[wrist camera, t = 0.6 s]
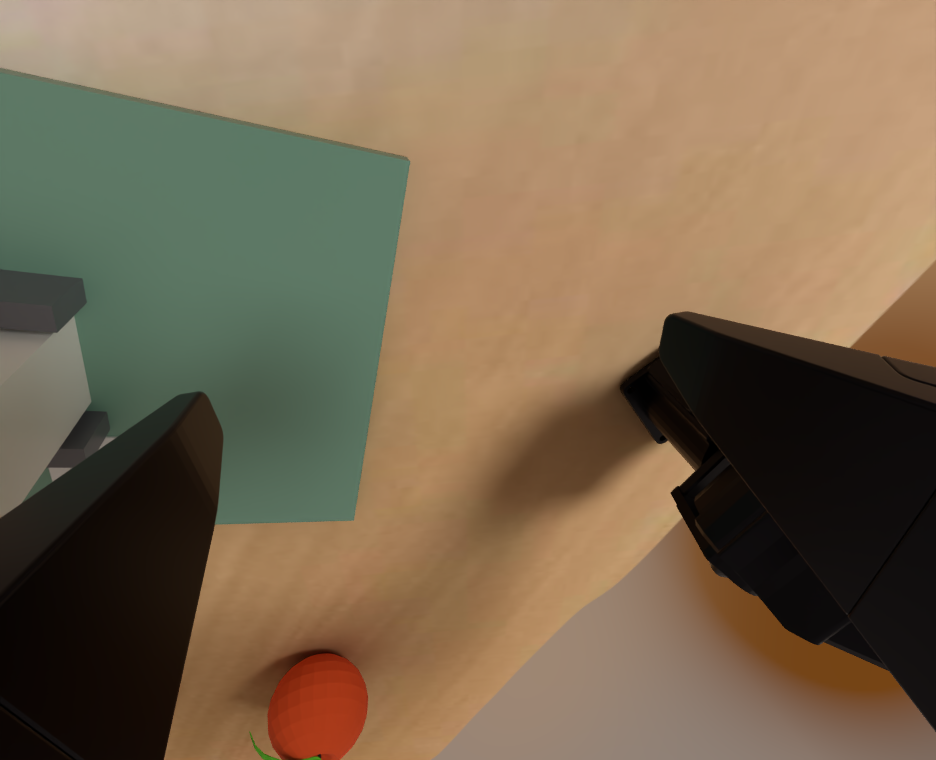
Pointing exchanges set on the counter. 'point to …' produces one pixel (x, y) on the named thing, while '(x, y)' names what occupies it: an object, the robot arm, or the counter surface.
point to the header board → (204, 281)
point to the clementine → (317, 710)
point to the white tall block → (36, 404)
